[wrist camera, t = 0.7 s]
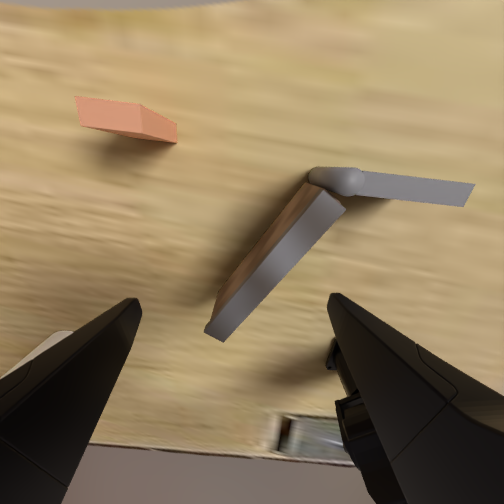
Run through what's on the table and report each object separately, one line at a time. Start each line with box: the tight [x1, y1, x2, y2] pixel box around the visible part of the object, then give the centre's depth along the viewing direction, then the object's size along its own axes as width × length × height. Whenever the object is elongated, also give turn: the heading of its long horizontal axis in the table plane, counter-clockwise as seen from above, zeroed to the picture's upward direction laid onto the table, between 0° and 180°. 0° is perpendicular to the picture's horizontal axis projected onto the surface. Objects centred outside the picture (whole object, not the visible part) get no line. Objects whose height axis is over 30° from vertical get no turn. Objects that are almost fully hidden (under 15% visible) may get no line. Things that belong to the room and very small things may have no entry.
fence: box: [75, 96, 475, 207], centre depth 16 cm, size 4×27×8 cm, turn 84°
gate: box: [204, 182, 346, 343], centre depth 19 cm, size 16×2×7 cm, turn 144°
